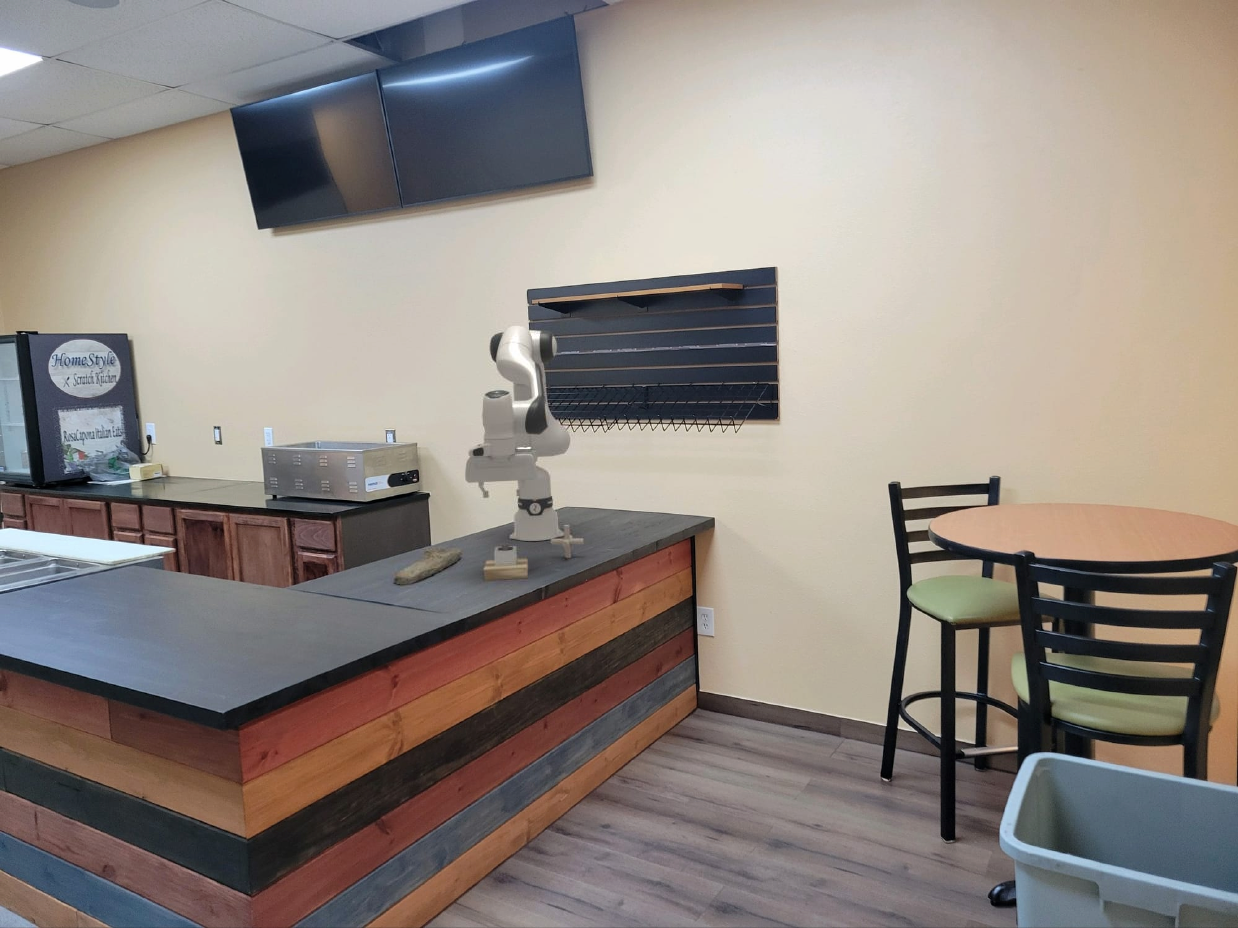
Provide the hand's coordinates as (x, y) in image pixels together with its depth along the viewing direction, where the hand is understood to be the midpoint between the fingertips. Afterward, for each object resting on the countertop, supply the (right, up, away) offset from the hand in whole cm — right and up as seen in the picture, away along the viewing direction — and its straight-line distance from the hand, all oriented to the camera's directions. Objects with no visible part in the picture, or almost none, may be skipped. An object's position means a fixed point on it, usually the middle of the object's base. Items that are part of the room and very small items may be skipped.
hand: (502, 496), depth 243 cm
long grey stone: (-23, -23, +11) cm, 34 cm away
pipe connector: (+17, -20, +21) cm, 34 cm away
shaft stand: (+1, -22, +3) cm, 23 cm away
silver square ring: (+1, -19, +2) cm, 20 cm away
